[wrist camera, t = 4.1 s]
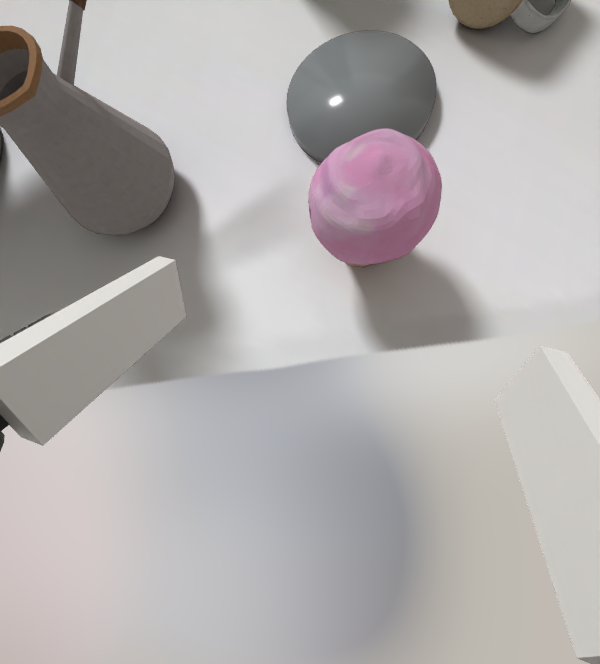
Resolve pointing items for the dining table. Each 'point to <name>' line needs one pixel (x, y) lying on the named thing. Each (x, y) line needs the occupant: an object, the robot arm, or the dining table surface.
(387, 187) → the cupcake
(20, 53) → the coffee pot
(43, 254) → the dining table surface
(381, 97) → the slate plate
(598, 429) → the robot arm
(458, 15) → the ceramic mug
